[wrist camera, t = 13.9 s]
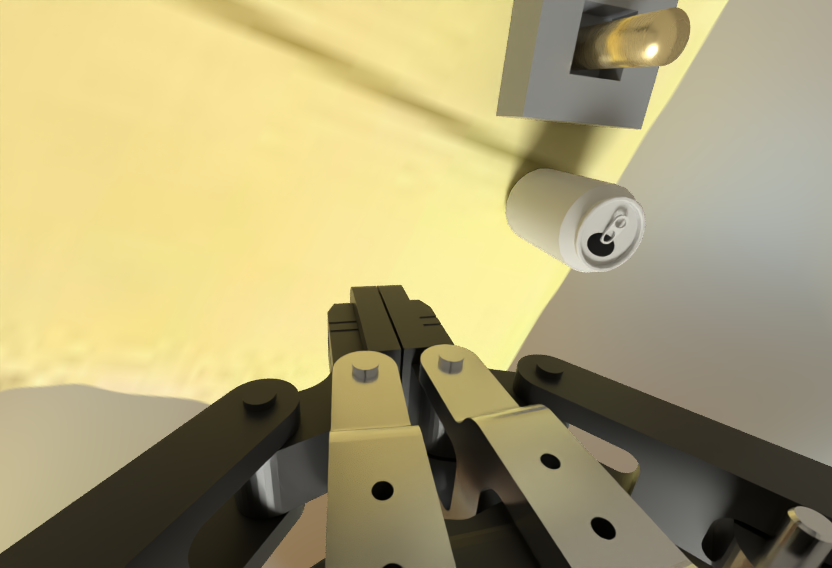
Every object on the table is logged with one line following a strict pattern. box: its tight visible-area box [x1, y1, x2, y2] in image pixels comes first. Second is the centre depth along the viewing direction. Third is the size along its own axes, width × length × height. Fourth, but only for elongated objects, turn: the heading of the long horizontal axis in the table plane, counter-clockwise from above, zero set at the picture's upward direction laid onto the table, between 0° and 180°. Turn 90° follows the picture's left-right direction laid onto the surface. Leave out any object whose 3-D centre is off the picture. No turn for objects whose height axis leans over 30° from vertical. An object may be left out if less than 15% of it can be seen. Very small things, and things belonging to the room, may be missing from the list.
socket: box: [496, 0, 678, 129], centre depth 33 cm, size 12×12×5 cm
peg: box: [571, 7, 690, 70], centre depth 29 cm, size 3×3×10 cm
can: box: [506, 168, 645, 272], centre depth 36 cm, size 8×8×12 cm
